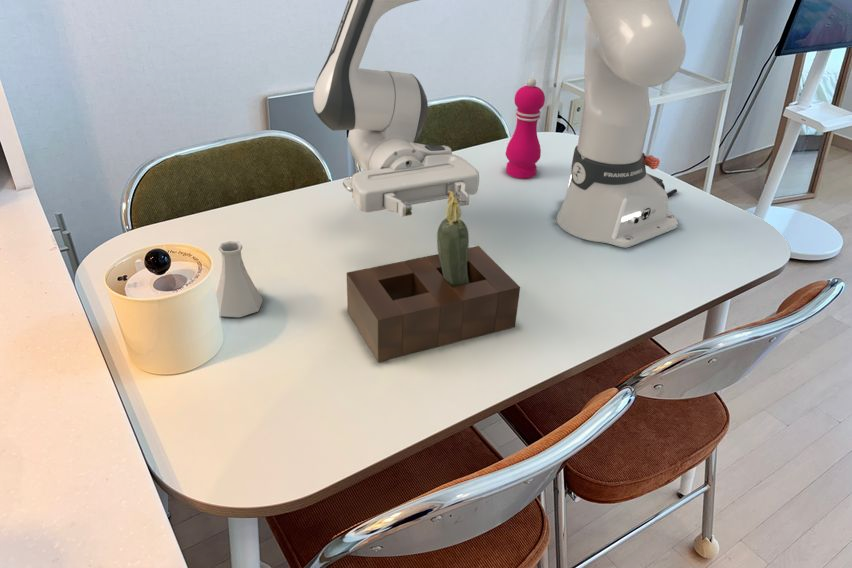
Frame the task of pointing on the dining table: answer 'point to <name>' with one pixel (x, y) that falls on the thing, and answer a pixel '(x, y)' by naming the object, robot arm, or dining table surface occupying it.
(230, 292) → the flask
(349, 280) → the holder
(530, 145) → the pepper mill
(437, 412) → the dining table surface
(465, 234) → the vegetable
